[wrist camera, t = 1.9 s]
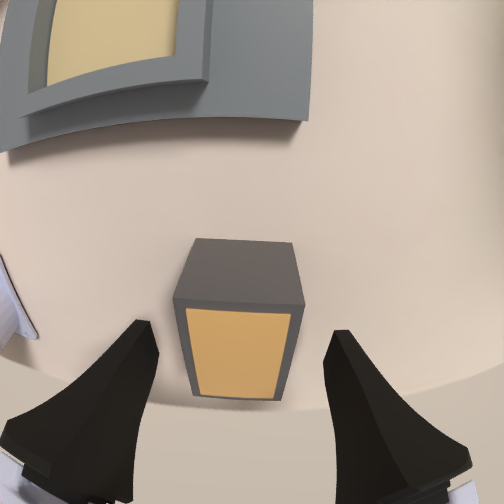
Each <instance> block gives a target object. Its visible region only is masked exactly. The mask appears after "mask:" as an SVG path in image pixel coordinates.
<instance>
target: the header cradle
mask: <svg viewBox="0 0 504 504" xmlns="http://www.w3.org/2000/svg"><path fill="white" fill-rule="evenodd" d="M312 36H313V0H10V2H9V5H8V9H7V13H6V17H5V22H4V27H3V32H2V38H1V44H0V153H2V152H4V151H7V150H10V149H13V148H16V147H19V146H23V145H26V144H29V143H33V142H36V141H40V140H43V139H47V138H51V137H55V136H59V135H64V134H68V133H72V132H77V131H82V130H87V129H92V128H98V127H104V126H110V125H117V124H124V123H132V122H140V121H150V120H161V119H174V118H193V117H256V118H275V119H288V120H300V121H308V116H309V102H310V85H311V65H312Z"/></svg>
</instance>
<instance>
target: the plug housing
mask: <svg viewBox="0 0 504 504" xmlns="http://www.w3.org/2000/svg"><path fill="white" fill-rule="evenodd" d="M173 303H174V309H175V315H176V320H177V325H178V331H179V336H180V341H181V346H182V350H183V355H184V360H185V364H186V369H187V373H188V377H189V381H190V386H191V390H192V394H193V396H200V397H210V398H222V399H236V400H262V401H281V398H282V395H283V391H284V388H285V384H286V381H287V377H288V373H289V370H290V366H291V362H292V358H293V354H294V350H295V346H296V342H297V338H298V334H299V330H300V325H301V321H302V317H303V312H304V308H305V301H304V296H303V291H302V286H301V282H300V277H299V272H298V268H297V263H296V259H295V254H294V250H293V245H292V243H286V242H267V241H247V240H226V239H204V238H196V240H195V242H194V244H193V247H192V249H191V252H190V254H189V257H188V259H187V262H186V264H185V267H184V269H183V272H182V274H181V277H180V279H179V282H178V284H177V287H176V290H175V292H174V295H173Z"/></svg>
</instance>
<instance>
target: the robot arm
mask: <svg viewBox="0 0 504 504" xmlns="http://www.w3.org/2000/svg"><path fill="white" fill-rule="evenodd" d="M13 333H16V334H19V335H21V336H24V337H27V338H30V339H33V340H36V338H37V333H36V332H35V330H34V328H33V326H32V324H31V323H30V321H29V319H28V317H27V315H26V313H25V311H24V309H23V307H22V305H21V303H20V301H19V299H18V297H17V295H16V293H15V291H14V289H13V286H12V284H11V282H10V280H9V277H8V275H7V272H6V270H5V267H4V265H3V262H2V260H1V257H0V353H1V351H2V350H3V348H4V347H5V345H6V344H7V342H8V341H9V339H10V338H11V336H12V335H13ZM158 358H159V351H158V348H157V344H156V341H155V338H154V335H153V331H152V328H151V324H150V321H144V320H137V319H136V320H135V321H134V322H133V323H132V324H131V325H130V326H129V327H128V328H127V329H126V330H125V331H124V332H123V334H122V335H121V336H120V337H119V338H118V339H117V340H116V341H115V342H114V343H113V344H112V345H111V346H110V347H109V349H108V350H107V351H106V352H105V353H104V354H103V355H102V356H101V357H100V358H99V359H98V360H97V361H96V362H95V363H94V364H93V365H92V366H91V367H90V368H89V369H87V370H86V371H85V372H84V373H83V374H82V375H81V376H80V377H79V378H77V379H76V380H75V381H74V382H73V383H71V384H70V385H69V386H68V387H66V388H65V389H64V390H62V391H61V392H59V393H58V394H56V395H55V396H53V397H52V398H51V399H49V400H48V401H46V402H44V403H43V404H41V405H39V406H37V407H35V408H34V409H32V410H30V411H28V412H26V413H24V414H21V415H19V416H17V417H14V418H12V419H9V420H8V421H7V423H6V425H5V427H4V430H3V432H2V435H1V438H0V446H1V447H2V448H3V449H5V450H6V451H7V452H9V453H10V454H11V455H13V456H14V457H16V458H17V459H19V460H20V461H22V462H23V463H25V464H24V466H23V465H21V464H20V463H18V462H17V461H15V460H14V459H13V458H11V457H10V456H8V455H7V454H5V453H4V452H1V453H0V502H1V503H2V504H106V503H109V504H115V500H117V501H120V502H122V503H125V504H127V503H130V502H132V501H133V473H134V472H133V471H134V460H135V450H136V443H137V437H138V431H139V426H140V422H141V418H142V415H143V412H144V408H145V405H146V402H147V399H148V396H149V393H150V390H151V387H152V384H153V380H154V377H155V373H156V369H157V364H158ZM323 368H324V380H325V387H326V392H327V397H328V402H329V407H330V411H331V416H332V421H333V426H334V432H335V442H336V460H337V461H336V462H337V484H336V486H337V487H336V502H335V504H479V501H478V496H477V491H476V487H475V482H474V480H470V481H468V482H466V483H464V484H463V485H461V486H459V487H457V488H455V489H453V490H451V491H447V488H448V487H450V479H452V478H454V477H456V476H458V475H459V474H461V473H463V472H465V471H467V470H468V469H470V468H471V467H472V461H471V457H470V454H469V451H468V448H467V447H465V446H463V445H462V444H460V443H458V442H456V441H454V440H453V439H451V438H449V437H448V436H446V435H445V434H443V433H442V432H440V431H439V430H438V429H436V428H435V427H434V426H432V425H431V424H430V423H428V422H427V421H426V420H425V419H424V418H422V417H421V416H420V415H419V414H418V413H417V412H415V411H414V410H413V409H412V408H411V407H410V406H409V405H408V404H407V403H406V402H405V401H404V400H403V399H402V398H401V397H400V396H399V395H398V393H397V392H396V391H395V390H394V389H393V388H392V387H391V385H390V384H389V383H388V382H387V381H386V379H385V378H384V377H383V376H382V374H381V373H380V372H379V371H378V369H377V368H376V367H375V365H374V364H373V363H372V361H371V360H370V359H369V357H368V356H367V355H366V353H365V352H364V350H363V349H362V348H361V346H360V345H359V343H358V342H357V340H356V339H355V338H354V336H353V335H352V333H351V332H350V331H349V330H334V332H333V335H332V338H331V341H330V344H329V347H328V350H327V352H326V355H325V358H324V360H323Z"/></svg>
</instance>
